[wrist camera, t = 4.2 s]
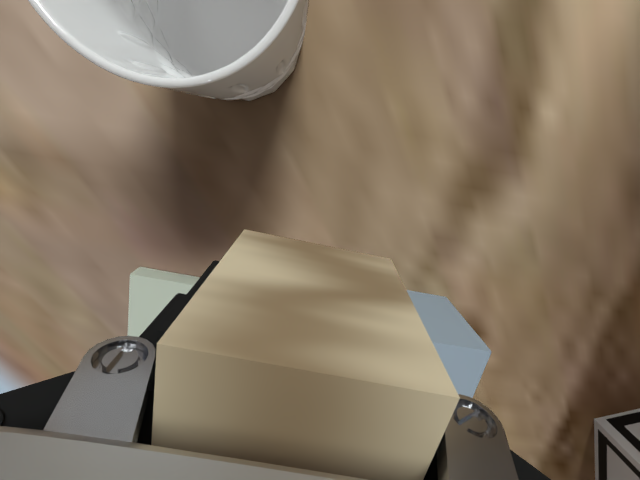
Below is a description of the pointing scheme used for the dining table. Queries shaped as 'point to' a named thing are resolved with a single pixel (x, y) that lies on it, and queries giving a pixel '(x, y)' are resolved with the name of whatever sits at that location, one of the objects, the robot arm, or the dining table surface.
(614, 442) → the block
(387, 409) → the maple block
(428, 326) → the slate block
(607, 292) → the dining table surface
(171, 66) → the white cup
